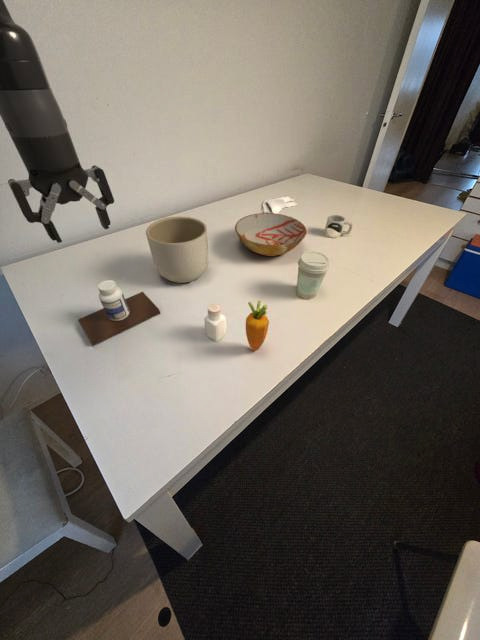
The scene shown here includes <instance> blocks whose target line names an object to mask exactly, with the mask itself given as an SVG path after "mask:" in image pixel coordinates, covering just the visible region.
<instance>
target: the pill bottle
mask: <svg viewBox="0 0 480 640" xmlns="http://www.w3.org/2000/svg"><path fill="white" fill-rule="evenodd" d="M97 289H98V291H99V293H98V299H99V301H100V303H101V306H102V307H103V308H104V310H105V312H106V314H107V316H108V318H109V319H110V320H113V321H120V320H123V319H125V318H126V317H127V316H128V315H129V308H128V306H127V303H126V301H125V299H126V298H125V295H124V293H123V291H122V289H121V288H120V287H119V286H118V285H117V284H116V282H115V281H114V280H112V279H108V280H107V279H106V280H103V281H100V283H98V285H97Z"/></svg>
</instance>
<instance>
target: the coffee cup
mask: <svg viewBox="0 0 480 640" xmlns="http://www.w3.org/2000/svg"><path fill="white" fill-rule="evenodd" d="M297 265H298V267H297V282H296V295H297V296H298V297H300V298H302V299H304V300H311V299H312V300H313V299H314V298H315V297H316V296H317V294H318V291H319V289H320V287H321V285H322V283H323V281H324V278H325V276H326V273H327V272H328V271H329V269H330V258H329V257H328V256H327V255H326V254H324V253H322V252H319V251H306V252H304V253H301V255H300V257H299V258H298V261H297Z"/></svg>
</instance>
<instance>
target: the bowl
mask: <svg viewBox="0 0 480 640" xmlns="http://www.w3.org/2000/svg"><path fill="white" fill-rule="evenodd" d="M234 230H235V234H236V235H237V237H238V239H239V240H240V241H241V243H242V244H243V245H244V246H245V247H246V248H248V250H250V251H252V252H254V253H256V254H258V255H261V256H266V257H275V256H279V255H280V256H281V255H284V254H287V253H289V252H290V251H292V250H294V249H295V248H296V247H297V246H298V245H299V244H301V242H302V241H303V240H304V239H305V237H306V235H307V233H308V232H307V227H306V226H305V225H304V224H303V223H302V222H301V221H300V220H298V219H296V218H294V217H292V216H288V215H286V214H281V213H278V214H274V213H264V212H259V213H253V214H249V215H246V216H244V217H242V218H240V219H238V221H236V223H235V225H234Z"/></svg>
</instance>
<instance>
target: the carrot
mask: <svg viewBox="0 0 480 640" xmlns="http://www.w3.org/2000/svg"><path fill="white" fill-rule="evenodd" d="M247 304H248V306H249V307H250V310H251V312H250V313H249V315H247V317H246V319H245V335H246V338H247V343H248V345H249V347H250V349H251V350H252V351H253V352H257V351H259V349H260V348H261V346H262V345H263V344H264V341H265V339H266V338H267V334H268V330H269V324H270V320H269V318H268V316H267V315H266V314H268V311H267V310H268V305H267V304H264V305H262V307H261V304H262V300H258V301H257V303H256V309H255V307H254V304H253V303H252V302H251V301H249V302H248V303H247ZM260 307H261V308H260Z"/></svg>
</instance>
